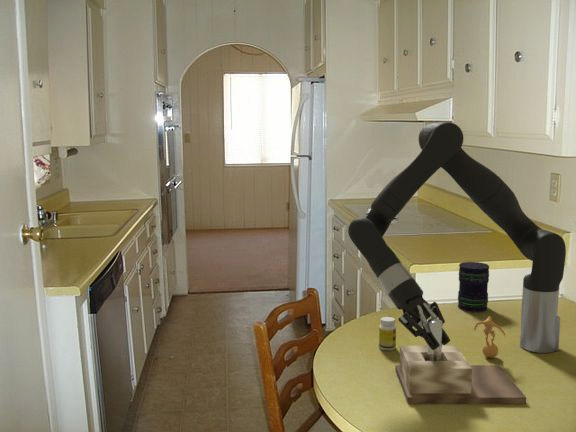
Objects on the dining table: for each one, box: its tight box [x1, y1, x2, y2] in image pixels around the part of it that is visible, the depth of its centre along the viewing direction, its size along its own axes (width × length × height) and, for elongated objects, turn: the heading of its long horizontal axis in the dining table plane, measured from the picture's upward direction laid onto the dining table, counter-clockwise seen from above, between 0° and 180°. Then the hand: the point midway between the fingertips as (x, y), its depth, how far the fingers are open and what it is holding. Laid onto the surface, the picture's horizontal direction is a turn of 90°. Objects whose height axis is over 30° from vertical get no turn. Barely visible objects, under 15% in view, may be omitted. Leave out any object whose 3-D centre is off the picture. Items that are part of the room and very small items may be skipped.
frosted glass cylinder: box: [426, 318, 443, 361], centre depth 140 cm, size 3×3×13 cm
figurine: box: [473, 316, 507, 359], centre depth 157 cm, size 8×6×12 cm
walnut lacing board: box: [394, 364, 527, 405], centre depth 142 cm, size 26×18×2 cm
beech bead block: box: [399, 345, 472, 393], centre depth 141 cm, size 14×14×6 cm
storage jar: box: [457, 261, 490, 313], centre depth 201 cm, size 10×10×15 cm
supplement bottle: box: [378, 316, 397, 351], centre depth 166 cm, size 5×5×8 cm
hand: (441, 345), depth 139 cm, fingers open, 4 cm apart
